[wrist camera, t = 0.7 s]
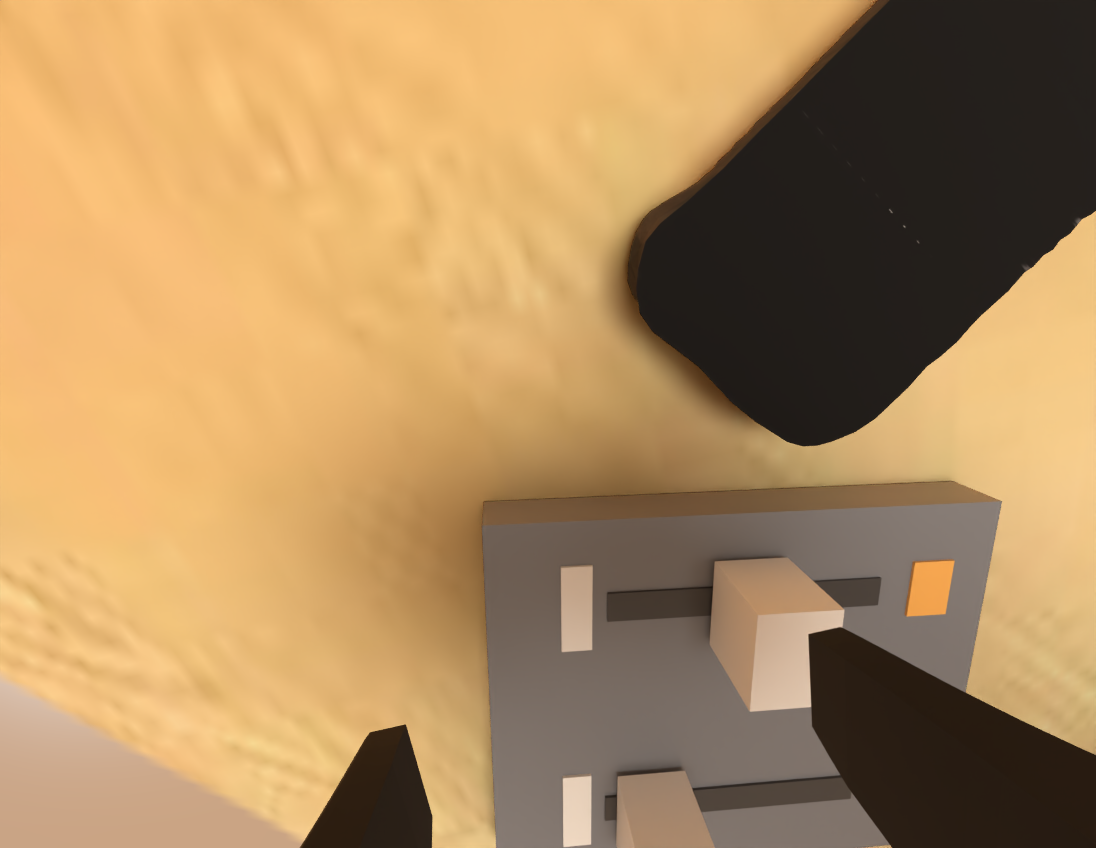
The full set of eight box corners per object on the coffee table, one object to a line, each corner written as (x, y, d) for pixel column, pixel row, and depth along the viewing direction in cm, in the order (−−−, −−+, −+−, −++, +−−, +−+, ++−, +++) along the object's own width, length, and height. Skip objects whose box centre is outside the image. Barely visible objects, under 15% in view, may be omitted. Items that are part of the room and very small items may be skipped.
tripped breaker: (779, 639, 18) (832, 705, 15) (709, 644, 18) (749, 711, 15) (787, 557, 17) (844, 609, 15) (714, 561, 17) (758, 615, 14)
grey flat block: (900, 794, 23) (939, 842, 21) (498, 830, 22) (498, 886, 20) (952, 481, 20) (1004, 502, 18) (483, 501, 18) (481, 527, 16)
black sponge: (752, 448, 19) (810, 482, 16) (590, 269, 17) (614, 263, 14) (1129, 101, 18) (1288, 51, 14) (995, -138, 16) (1141, -264, 12)
